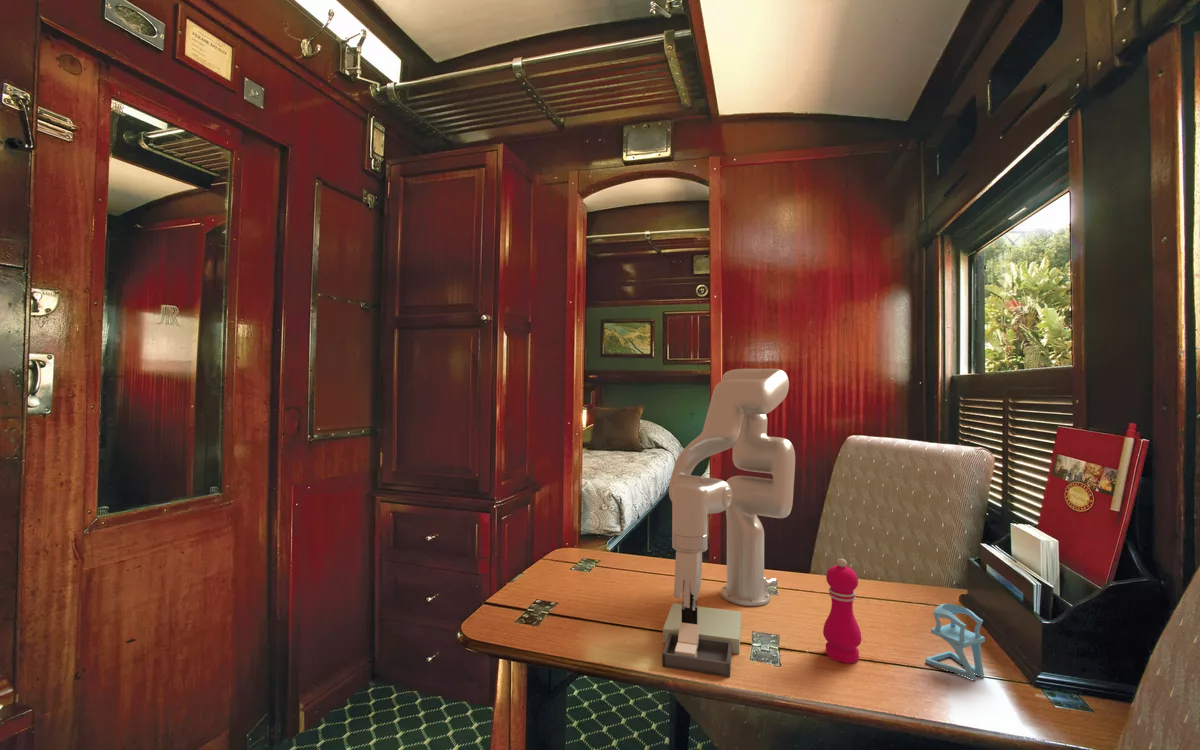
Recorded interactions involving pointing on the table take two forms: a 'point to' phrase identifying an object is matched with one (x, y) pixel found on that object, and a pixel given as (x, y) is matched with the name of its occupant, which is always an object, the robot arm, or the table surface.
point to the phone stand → (958, 640)
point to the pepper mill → (842, 615)
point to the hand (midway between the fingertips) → (689, 626)
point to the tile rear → (689, 633)
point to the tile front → (686, 649)
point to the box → (700, 657)
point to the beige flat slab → (708, 624)
